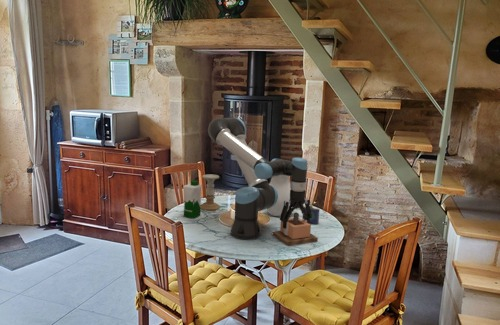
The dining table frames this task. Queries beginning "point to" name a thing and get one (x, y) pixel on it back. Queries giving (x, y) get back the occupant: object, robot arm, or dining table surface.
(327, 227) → the dining table surface
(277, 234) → the hook peg board
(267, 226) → the dining table surface
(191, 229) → the dining table surface
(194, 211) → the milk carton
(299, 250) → the dining table surface
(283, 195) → the pitcher
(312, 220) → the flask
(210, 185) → the candle holder
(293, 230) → the orange square ring
